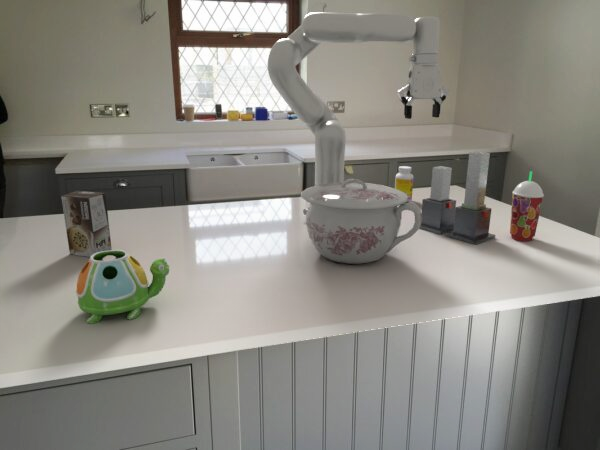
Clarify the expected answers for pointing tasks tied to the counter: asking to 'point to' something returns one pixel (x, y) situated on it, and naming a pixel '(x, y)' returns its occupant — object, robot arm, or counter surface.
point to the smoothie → (525, 210)
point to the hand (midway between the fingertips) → (421, 117)
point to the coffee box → (86, 222)
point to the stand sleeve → (438, 216)
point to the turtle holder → (117, 284)
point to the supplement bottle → (405, 181)
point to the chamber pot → (356, 220)
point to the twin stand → (474, 204)
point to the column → (440, 184)
